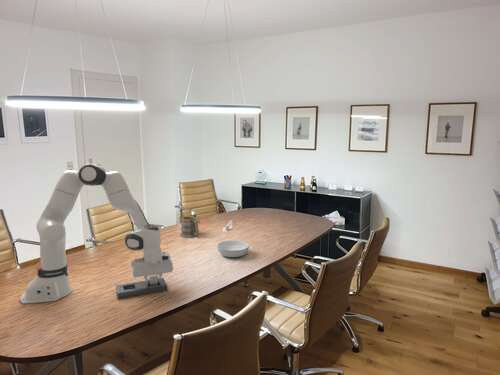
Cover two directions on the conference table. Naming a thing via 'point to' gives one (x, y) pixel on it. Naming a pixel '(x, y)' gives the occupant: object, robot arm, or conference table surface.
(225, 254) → the serving bowl
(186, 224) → the tankard
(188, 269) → the conference table surface
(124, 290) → the grey slotted board
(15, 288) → the conference table surface
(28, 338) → the conference table surface
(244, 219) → the conference table surface
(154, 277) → the wood grain block
